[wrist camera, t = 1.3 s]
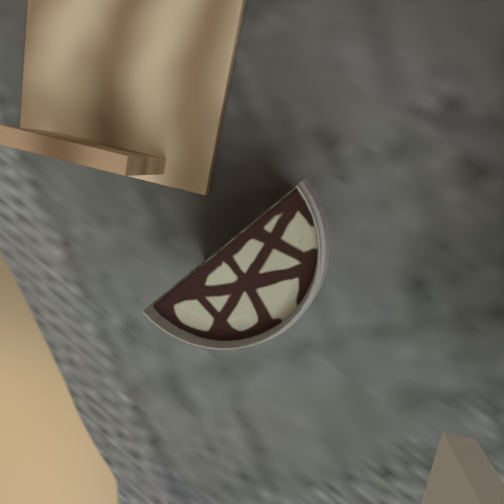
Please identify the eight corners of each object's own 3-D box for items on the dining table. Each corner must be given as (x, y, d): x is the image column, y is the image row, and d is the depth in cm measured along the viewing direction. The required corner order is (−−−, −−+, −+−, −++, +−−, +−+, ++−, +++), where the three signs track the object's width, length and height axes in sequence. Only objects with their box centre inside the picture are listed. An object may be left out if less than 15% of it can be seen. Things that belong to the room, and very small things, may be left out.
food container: (238, 326, 31) (203, 397, 22) (191, 271, 31) (135, 316, 21) (360, 238, 28) (382, 274, 18) (309, 174, 28) (305, 177, 18)
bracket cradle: (263, -88, 24) (243, -186, 18) (208, 194, 29) (176, 202, 22) (46, -122, 26) (-47, -222, 20) (27, 149, 31) (-53, 143, 24)
